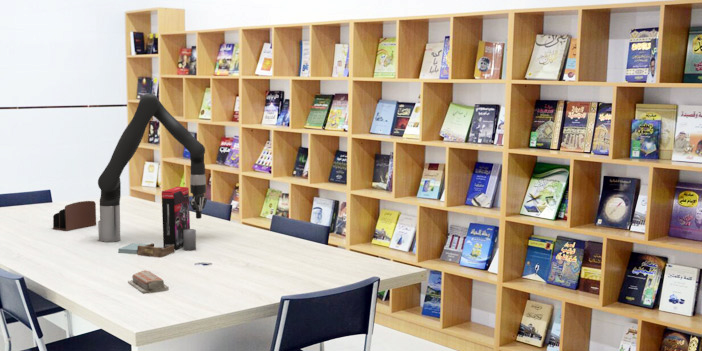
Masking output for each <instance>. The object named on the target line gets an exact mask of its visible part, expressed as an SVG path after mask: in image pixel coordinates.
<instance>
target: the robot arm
mask: <svg viewBox="0 0 702 351" xmlns="http://www.w3.org/2000/svg"><path fill="white" fill-rule="evenodd" d="M153 117H154V118H155V119H156V120H157V121H158V122H159V123H161V125H162V126H163V127H164V128H165V130H166V131H167V133H169V134H170V135H171V136H172V137H173V138H174V139H175V141H177V142H178V143H179V144H180V145H182V146H183V147H184V148H185V149H186V150H187V152H189V156H190V158H189V159H190V175H189V176H190V177H189V178H190V180H189V182H190V183H189V184H190V186H189V187H190V189H189V192H190V194H192V199H191V200H189V206H191V209H192V210H193V211H195V218H196V219H197V220H198V219H202V211H203V209H204V208H205V207H206V203H207V201H208V199H207V197H205V194H206V192H207V178H206V165H205V153H206V148H205V145H203V144H202V143H201V142H200V141H199V140H197V138H195V137H194V136H193V134H192V133H191V131H189V129H187V128H186V127H185V126H184V125H183V124H181V122H179V121H178V120H177V118H175V117H174V116H173V115H172V114H171V113H170V112H169V111H168V110H167V109H166V107H165V106H164V105H163V104H162V102H161V101H160V100H159V98H158V96H157V95H156V94H154V93H145V94H144V95H143V96H141V97H140V99H139V102H138V106H137V108H136V110H135V112H134V115H133V117H132V119H131V120H130V121H129V123H128V125H127V126H126V127H125V129H124V130H123V132H122V134H121V136H120V138H119V139H118V141H117V143H116V146H115V148H114V150H113V152H112V155H111V157H110V160H109V161H108V164H107V165H106V166H105V168H104V170H103V171H102V173H100V175H99V177H98V180H97V185H98V188H99V190H100V197H99V220H98V222H97V223H98V226H97V227H98V241H101V242H103V243H104V242H105V243H112V242H119V241H121V206H120V205H121V202H120V201H121V197H122V196H121V192H122V191H121V190H122V188H121V184H122V182H121V178H120V177H121V175H122V173H123V171H124V169H125V167H126V166H127V165H128V163H129V162H130V161H131V159H132V158H133V157H134V155H135V153H136V152H137V150H138V148H139V146H140V144H141V142H142V140H143V137H144V135H145V132H146V129H147V127H148V124H149V122H150V121H151V119H152V118H153Z"/></svg>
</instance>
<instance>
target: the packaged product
mask: <svg viewBox="0 0 702 351" xmlns="http://www.w3.org/2000/svg"><path fill="white" fill-rule="evenodd" d="M131 278H132V279H130V280H127V283H128V284H129V285H131V286H132V287H134V288H135V289H136V290H137V289H138V291H139V292H140V293H142V294H150V293H149V292H151V293H157V292H156V291H158V292H163V291H164V292H165V291H169V286H168V285H166V284H165V282H164V280H163V279H162V278H160V277H159V276H157V275H156V274H154V273H153V272H151V271H149V270H146V269H145V270H141V271H138V272H136V273H134V274H133V275H132V277H131Z"/></svg>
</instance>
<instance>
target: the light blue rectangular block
mask: <svg viewBox="0 0 702 351" xmlns="http://www.w3.org/2000/svg"><path fill="white" fill-rule="evenodd" d="M149 244H150V243H136V242H135V243H134V242H132V243H129V244H127V245H125V246H121V247H120V248H118V249H117V250H118V254H126V255H127V254H129V255H138V246H139V245H140V246H146V245H149Z"/></svg>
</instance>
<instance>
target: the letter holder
mask: <svg viewBox="0 0 702 351" xmlns="http://www.w3.org/2000/svg"><path fill="white" fill-rule="evenodd" d="M96 207H97V206H96V201H93V200H84V201H76V202H72V203H69V204H67V205H65V206H64V208H63V209H61V210H59V211H58V212H57V213H54V214H53V217H52V218H53V219H52V222H53V223H52V226H53V227H52V229H53V230H56V231H60V232H61V231H62V232H69V231H73V230H74V231H75V230H80V229H85V228H90V227H97V208H96Z"/></svg>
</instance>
